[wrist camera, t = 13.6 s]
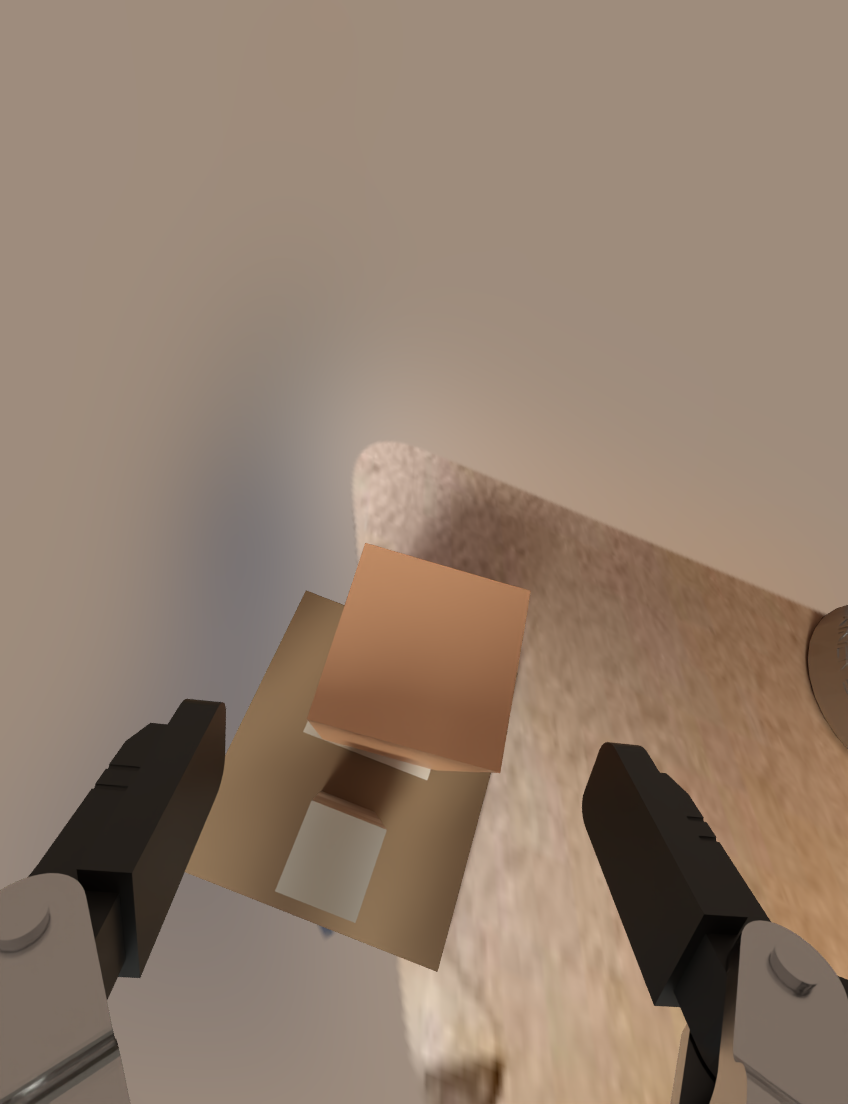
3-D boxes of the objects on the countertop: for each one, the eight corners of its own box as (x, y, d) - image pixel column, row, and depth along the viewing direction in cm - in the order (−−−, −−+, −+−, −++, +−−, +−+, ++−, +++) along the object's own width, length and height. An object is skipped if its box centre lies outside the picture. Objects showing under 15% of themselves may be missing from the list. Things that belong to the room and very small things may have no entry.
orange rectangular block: (460, 657, 22) (530, 591, 13) (435, 770, 20) (500, 773, 12) (357, 628, 21) (365, 542, 13) (322, 739, 20) (306, 719, 11)
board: (509, 677, 23) (574, 641, 17) (432, 959, 19) (479, 1064, 12) (307, 598, 23) (293, 532, 17) (181, 860, 19) (91, 911, 12)
